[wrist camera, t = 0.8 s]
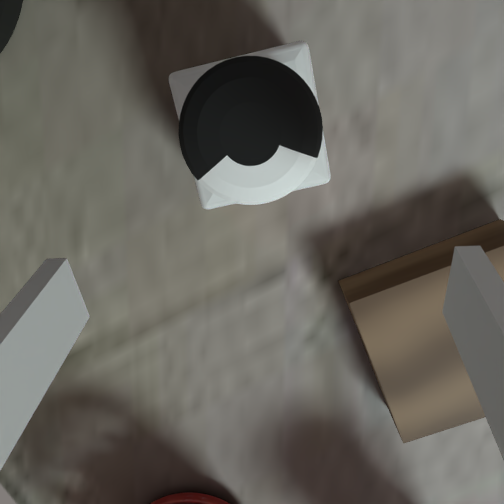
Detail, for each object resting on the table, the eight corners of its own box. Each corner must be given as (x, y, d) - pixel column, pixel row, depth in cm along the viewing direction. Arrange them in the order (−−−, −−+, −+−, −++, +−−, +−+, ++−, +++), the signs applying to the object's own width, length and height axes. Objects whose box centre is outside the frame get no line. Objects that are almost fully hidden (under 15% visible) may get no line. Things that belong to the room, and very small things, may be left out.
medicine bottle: (187, 82, 28) (139, 62, 17) (295, 55, 28) (322, 16, 16) (214, 189, 30) (187, 236, 19) (315, 167, 30) (351, 201, 18)
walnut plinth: (338, 280, 32) (349, 303, 28) (499, 219, 31) (534, 234, 27) (387, 407, 36) (403, 443, 32) (536, 358, 34) (571, 389, 30)
